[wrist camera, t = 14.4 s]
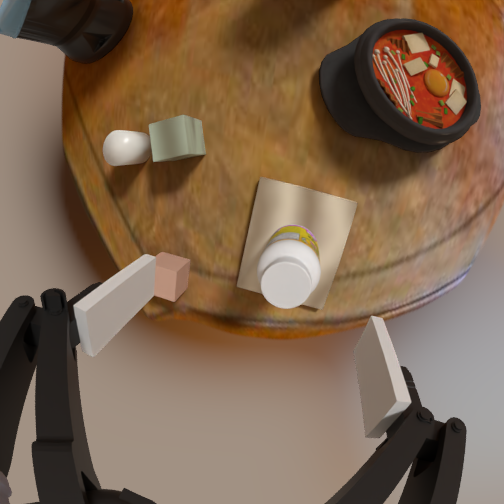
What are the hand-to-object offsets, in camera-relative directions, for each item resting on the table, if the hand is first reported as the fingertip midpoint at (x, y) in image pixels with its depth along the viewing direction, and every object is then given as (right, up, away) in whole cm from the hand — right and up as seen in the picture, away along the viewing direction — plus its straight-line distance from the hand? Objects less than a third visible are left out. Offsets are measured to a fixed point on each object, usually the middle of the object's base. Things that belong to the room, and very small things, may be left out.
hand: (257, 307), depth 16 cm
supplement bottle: (+5, +4, +22) cm, 23 cm away
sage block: (-9, +19, +21) cm, 30 cm away
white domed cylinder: (-17, +19, +22) cm, 34 cm away
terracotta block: (-13, 0, +28) cm, 30 cm away
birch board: (+6, +4, +23) cm, 24 cm away
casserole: (+21, +25, +13) cm, 35 cm away
